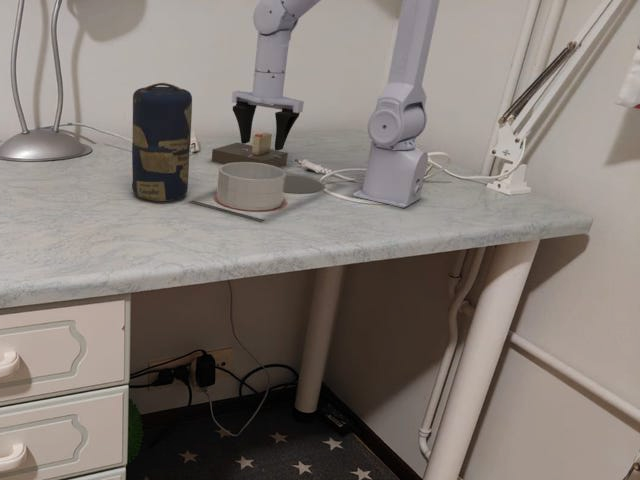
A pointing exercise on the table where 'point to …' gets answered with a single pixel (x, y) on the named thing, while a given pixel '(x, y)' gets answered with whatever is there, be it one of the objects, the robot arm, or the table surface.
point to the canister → (161, 142)
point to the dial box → (247, 155)
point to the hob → (291, 186)
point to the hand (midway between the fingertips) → (261, 146)
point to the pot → (250, 186)
